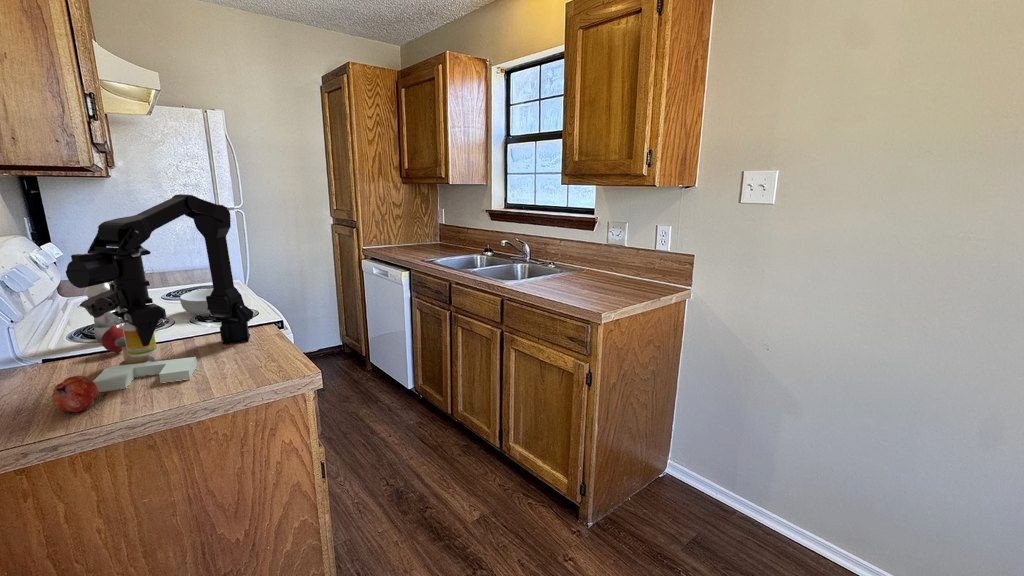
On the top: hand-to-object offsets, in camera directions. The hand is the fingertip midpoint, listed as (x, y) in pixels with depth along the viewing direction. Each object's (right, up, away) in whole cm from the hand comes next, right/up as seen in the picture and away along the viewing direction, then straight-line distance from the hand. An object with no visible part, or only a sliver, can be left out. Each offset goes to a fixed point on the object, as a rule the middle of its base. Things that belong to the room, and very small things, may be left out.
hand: (141, 342), depth 108 cm
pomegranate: (-4, -13, -11) cm, 17 cm away
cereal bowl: (-19, +4, +54) cm, 57 cm away
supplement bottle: (0, -3, +1) cm, 3 cm away
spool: (-10, -7, +11) cm, 16 cm away
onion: (-21, -5, +18) cm, 28 cm away
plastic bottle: (-30, -3, +27) cm, 40 cm away
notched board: (-1, -9, +3) cm, 10 cm away
